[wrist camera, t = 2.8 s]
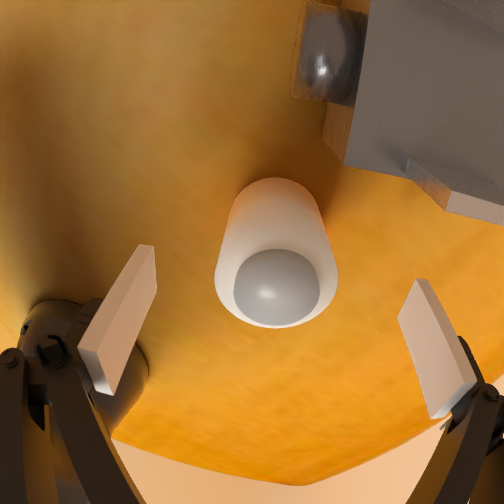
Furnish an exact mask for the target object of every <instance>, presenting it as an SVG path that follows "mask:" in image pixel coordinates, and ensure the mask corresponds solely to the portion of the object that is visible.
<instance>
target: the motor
mask: <svg viewBox="0 0 504 504" xmlns="http://www.w3.org/2000/svg"><path fill="white" fill-rule="evenodd" d="M290 92H291V96H293V97H299V98H305V99H311V100H317V101H322V102H327V107H326V113H325V119H324V124H323V130H322V136H321V137H322V139H323V140H324V141H325V142H326V144H327V145H328V146H329V148H330V149H331V150H332V151H333V153H334V154H335V155H336V157H337V158H338V159H339V160H340V162H341V163H342V164H343V165H345V166H350V167H355V168H360V169H365V170H370V171H375V172H380V173H385V174H389V175H394V176H398V177H403V178H407V179H411V180H412V181H413V182H414V183H416V184H417V185H418V186H419V187H420V188H421V189H422V190H423V191H424V192H425V193H426V194H428V195H429V196H430V197H431V198H432V199H433V200H434V201H435V202H436V203H437V204H438V205H439V206H440V207H441V208H442V209H443V210H444V211H446V212H450V213H454V214H459V215H463V216H467V217H471V218H475V219H479V220H483V221H486V222H490V223H494V224H498V225H501V226H504V0H342V3H341V7H338V6H333V5H328V4H324V3H319V2H313V1H308V0H305V1H304V3H303V6H302V9H301V13H300V18H299V22H298V28H297V33H296V39H295V46H294V53H293V61H292V71H291V85H290Z"/></svg>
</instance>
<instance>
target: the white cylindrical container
mask: <svg viewBox="0 0 504 504" xmlns="http://www.w3.org/2000/svg"><path fill="white" fill-rule="evenodd" d="M214 280H215V288H216V292H217V294H218V297H219V299H220V300H221V302H222V303H223V305H224V306H225V307H226V308H227V309H228V310H229V311H230V312H231V313H232V314H233V315H234V316H236V317H237V318H239V319H241V320H243V321H245V322H247V323H249V324H252V325H255V326H259V327H265V328H286V327H292V326H296V325H299V324H302V323H305V322H307V321H309V320H311V319H312V318H314V317H316V316H317V315H318V314H320V313H321V312H322V311H323V310H324V309H325V308H326V307H327V306H328V305H329V303H330V302H331V300H332V299H333V297H334V295H335V292H336V290H337V285H338V270H337V266H336V263H335V259H334V256H333V253H332V249H331V246H330V243H329V240H328V236H327V233H326V230H325V227H324V224H323V221H322V217H321V214H320V211H319V208H318V205H317V203H316V201H315V199H314V197H313V196H312V194H311V193H310V192H309V191H308V190H307V189H306V188H305V187H303V186H302V185H300V184H299V183H297V182H295V181H292V180H289V179H286V178H279V177H271V178H264V179H260V180H257V181H255V182H253V183H251V184H249V185H248V186H246V187H245V188H244V189H243V190H242V191H241V192H240V193H239V194H238V195H237V197H236V198H235V200H234V202H233V204H232V208H231V211H230V215H229V219H228V223H227V227H226V230H225V234H224V238H223V242H222V246H221V250H220V254H219V258H218V262H217V266H216V270H215V277H214Z"/></svg>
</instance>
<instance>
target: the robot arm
mask: <svg viewBox="0 0 504 504" xmlns="http://www.w3.org/2000/svg"><path fill="white" fill-rule="evenodd" d="M156 293H157V281H156V269H155V255H154V246H151V245H143V244H139V245H138V247H137V248H136V250H135V251H134V253H133V254H132V256H131V257H130V259H129V260H128V262H127V263H126V265H125V267H124V268H123V270H122V271H121V273H120V274H119V276H118V278H117V279H116V281H115V283H114V284H113V286H112V287H111V289H110V291H109V292H108V294H107V296H106V297H105V299H99V298H94V297H93V298H92V299H91V300H89V301H88V302H87V303H85V304H84V306H80V305H78V304H75V303H71V302H67V301H62V300H47V301H43V302H40V303H38V304H37V305H36V306H35V307H34V308H33V309H32V311H31V312H30V313H29V315H28V316H27V318H26V319H25V321H24V323H23V325H22V328H21V332H20V338H19V341H18V345H17V348H9V349H6V350H5V351H3V352H2V353H1V354H0V504H146V502H145V501H144V499H143V498H142V496H141V494H140V493H139V491H138V489H137V487H136V486H135V484H134V483H133V481H132V479H131V477H130V476H129V474H128V472H127V470H126V468H125V466H124V464H123V462H122V461H121V459H120V457H119V455H118V453H117V451H116V449H115V447H114V445H113V443H112V441H111V436H112V433H113V431H114V429H115V428H116V427H117V426H118V424H119V423H120V422H121V420H122V419H123V418H124V417H125V415H126V414H127V413H128V412H129V410H130V409H131V408H132V407H133V405H134V404H135V403H136V402H137V400H138V399H139V398H140V396H141V395H142V393H143V390H144V387H145V383H146V380H147V377H148V366H147V363H146V360H145V358H144V356H143V354H142V352H141V351H140V349H139V348H138V347H137V345H136V344H135V341H136V339H137V336H138V334H139V331H140V329H141V327H142V324H143V322H144V320H145V317H146V315H147V313H148V311H149V308H150V306H151V304H152V301H153V299H154V297H155V295H156ZM397 319H398V322H399V325H400V327H401V330H402V333H403V336H404V338H405V341H406V344H407V347H408V350H409V353H410V355H411V358H412V361H413V364H414V367H415V370H416V373H417V377H418V380H419V383H420V386H421V389H422V393H423V396H424V399H425V403H426V406H427V410H428V413H429V417H430V419H436V418H443V417H444V416H445V415H446V414H447V413H448V412H449V411H450V410H451V413H452V417H451V418H450V419H449V420H447V421H446V422H445V423H444V424H443V425H442V426H441V428H440V430H442V429H443V428H444V427H445V426H446V427H445V430H444V432H443V434H442V436H441V439H440V441H439V443H438V445H437V447H436V449H435V451H434V453H433V455H432V458H431V459H430V461H429V463H428V465H427V467H426V469H425V471H424V473H423V475H422V477H421V479H420V480H419V482H418V484H417V485H416V487H415V489H414V491H413V492H412V494H411V496H410V498H409V499H408V501H407V502H406V504H467V503H468V501H469V504H504V439H503V433H504V396H502V395H500V394H499V392H498V390H497V389H496V388H495V387H494V386H493V385H491V384H488V383H485V381H484V379H483V376H482V374H481V372H480V370H479V367H478V365H477V363H476V361H475V360H474V356H473V354H472V353H471V350H470V348H469V346H468V344H467V343H466V341H465V340H464V339H463V338H462V337H461V336H457V335H456V333H455V331H454V329H453V327H452V325H451V323H450V321H449V319H448V317H447V315H446V313H445V311H444V309H443V307H442V305H441V303H440V302H439V300H438V298H437V296H436V294H435V292H434V291H433V289H432V287H431V285H430V284H429V282H428V280H424V279H415V281H414V283H413V286H412V288H411V290H410V292H409V294H408V296H407V298H406V300H405V302H404V304H403V306H402V308H401V310H400V312H399V314H398V316H397ZM469 498H470V500H469Z"/></svg>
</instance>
